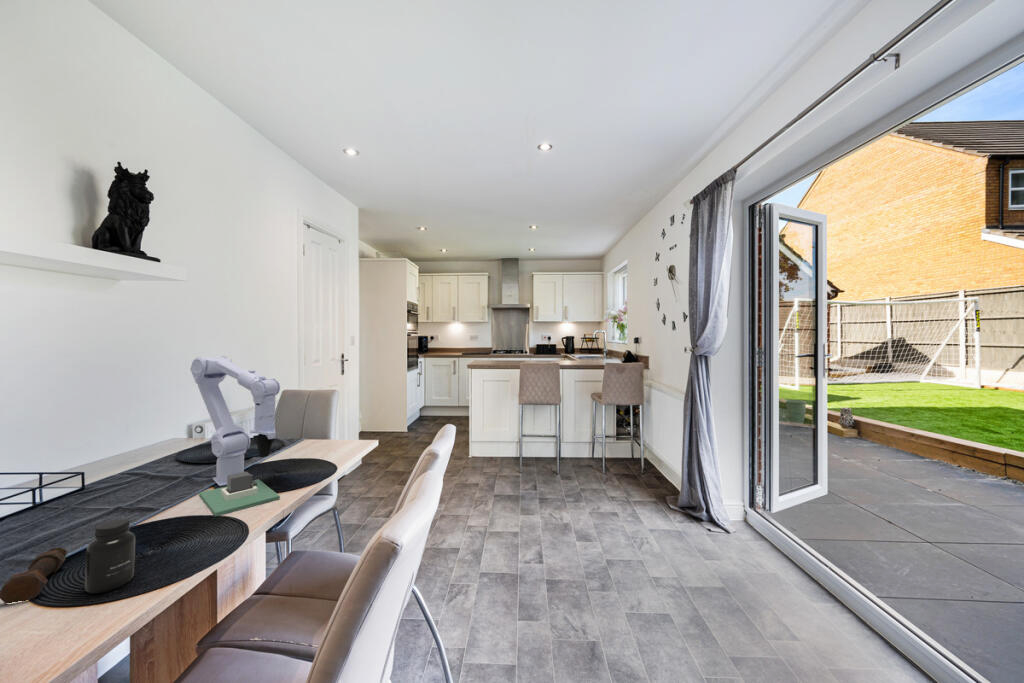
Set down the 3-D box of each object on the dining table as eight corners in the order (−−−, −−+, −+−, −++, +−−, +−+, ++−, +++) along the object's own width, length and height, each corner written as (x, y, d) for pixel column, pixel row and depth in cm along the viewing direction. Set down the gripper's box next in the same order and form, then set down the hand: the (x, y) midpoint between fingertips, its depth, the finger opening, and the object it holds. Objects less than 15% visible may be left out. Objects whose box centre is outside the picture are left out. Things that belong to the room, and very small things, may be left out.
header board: (199, 495, 119) (199, 486, 119) (258, 482, 131) (258, 473, 131) (215, 516, 106) (215, 506, 106) (279, 499, 118) (279, 490, 118)
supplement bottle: (119, 591, 74) (121, 530, 74) (74, 597, 72) (76, 534, 72) (142, 571, 81) (143, 514, 81) (101, 575, 79) (102, 518, 79)
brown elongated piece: (61, 570, 84) (26, 609, 71) (31, 564, 81) (-11, 603, 69) (81, 543, 85) (50, 576, 73) (52, 537, 83) (15, 570, 71)
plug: (227, 494, 118) (227, 475, 118) (249, 489, 122) (249, 470, 122) (230, 498, 115) (230, 478, 115) (253, 493, 119) (253, 473, 119)
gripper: (244, 414, 129) (243, 454, 129) (258, 420, 120) (257, 464, 120) (267, 411, 135) (267, 450, 135) (283, 417, 125) (282, 459, 125)
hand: (264, 456), depth 128 cm, fingers closed
